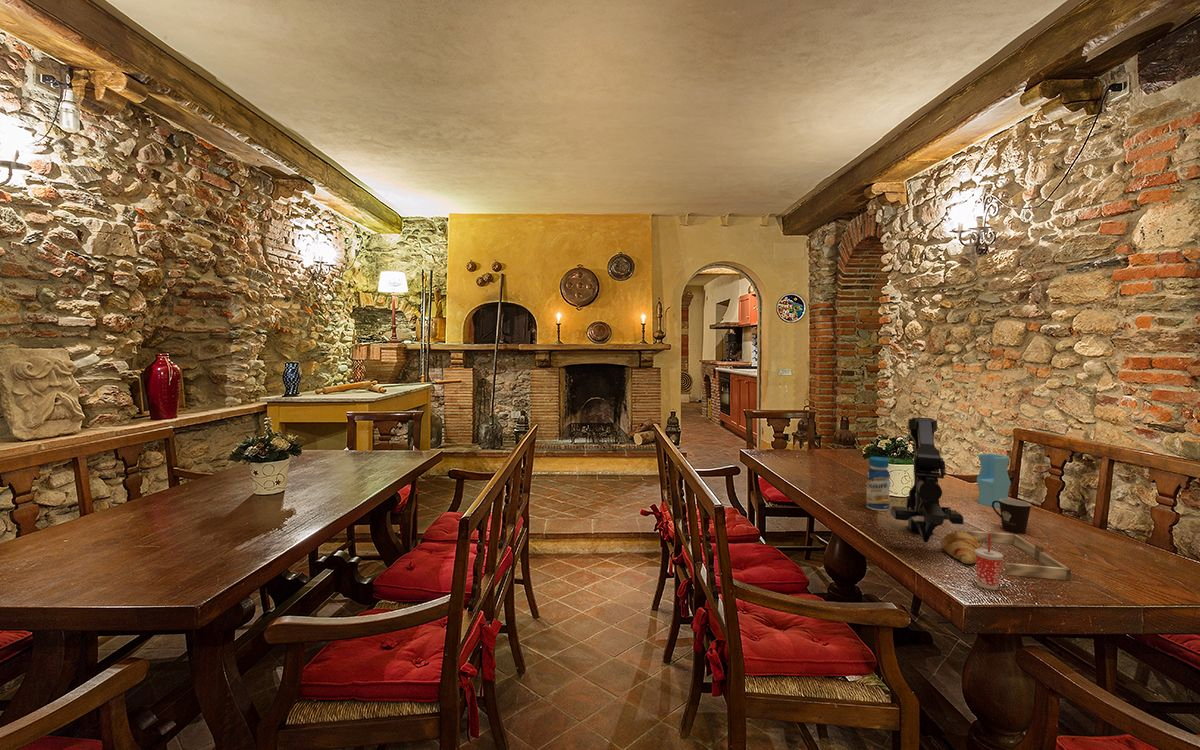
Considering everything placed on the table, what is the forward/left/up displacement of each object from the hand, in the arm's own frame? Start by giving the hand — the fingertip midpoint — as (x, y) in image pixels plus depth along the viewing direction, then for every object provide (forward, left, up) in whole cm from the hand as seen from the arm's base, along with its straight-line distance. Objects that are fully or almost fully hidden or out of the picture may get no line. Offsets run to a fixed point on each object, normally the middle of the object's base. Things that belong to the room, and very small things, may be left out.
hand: (925, 541), depth 164 cm
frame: (+23, 0, -3) cm, 24 cm away
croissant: (+10, 0, -3) cm, 10 cm away
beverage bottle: (-3, +44, -3) cm, 44 cm away
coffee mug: (+36, +29, -3) cm, 47 cm away
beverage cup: (+7, -23, -3) cm, 24 cm away
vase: (+44, +61, -3) cm, 75 cm away
